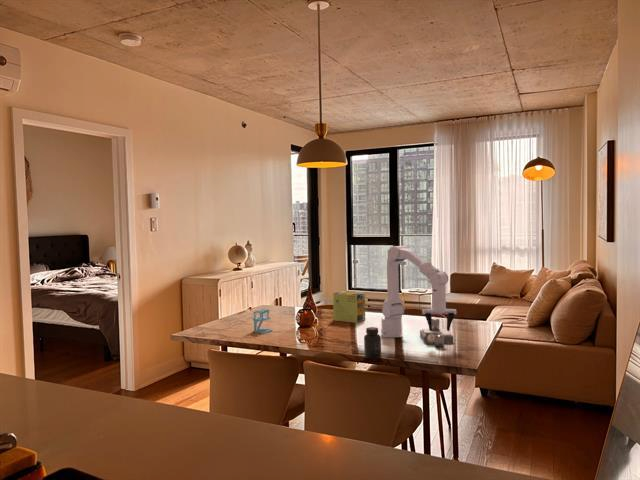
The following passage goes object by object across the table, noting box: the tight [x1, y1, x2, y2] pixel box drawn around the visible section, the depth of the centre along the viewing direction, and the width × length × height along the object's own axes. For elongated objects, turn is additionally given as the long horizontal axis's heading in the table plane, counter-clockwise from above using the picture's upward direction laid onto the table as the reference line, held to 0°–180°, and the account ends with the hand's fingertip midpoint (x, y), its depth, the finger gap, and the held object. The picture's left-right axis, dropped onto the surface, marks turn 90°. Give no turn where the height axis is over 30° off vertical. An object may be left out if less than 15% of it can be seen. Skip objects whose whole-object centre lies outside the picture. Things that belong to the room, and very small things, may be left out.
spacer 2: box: [434, 334, 445, 349], centre depth 214 cm, size 4×4×5 cm
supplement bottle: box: [363, 326, 382, 360], centre depth 199 cm, size 7×7×12 cm
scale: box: [419, 328, 454, 345], centre depth 226 cm, size 13×15×5 cm
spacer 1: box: [431, 318, 440, 331], centre depth 230 cm, size 4×4×5 cm
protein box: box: [332, 290, 366, 324], centre depth 276 cm, size 10×15×16 cm
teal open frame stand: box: [252, 308, 273, 335], centre depth 250 cm, size 8×8×12 cm
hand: (439, 330), depth 214 cm, fingers open, 7 cm apart
